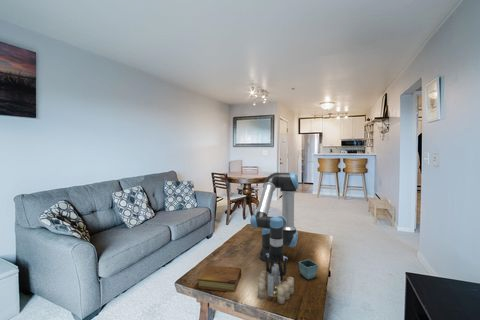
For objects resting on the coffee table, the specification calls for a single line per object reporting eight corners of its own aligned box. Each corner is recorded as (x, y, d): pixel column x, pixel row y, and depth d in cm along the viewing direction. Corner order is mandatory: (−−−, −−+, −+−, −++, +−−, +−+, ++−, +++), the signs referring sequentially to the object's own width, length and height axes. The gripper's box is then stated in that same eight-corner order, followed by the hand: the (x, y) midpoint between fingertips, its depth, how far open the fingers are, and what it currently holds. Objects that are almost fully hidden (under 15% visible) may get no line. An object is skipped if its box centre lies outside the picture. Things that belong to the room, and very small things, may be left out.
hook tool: (273, 283, 138) (273, 263, 138) (280, 285, 136) (280, 264, 136) (266, 295, 126) (266, 273, 126) (273, 297, 124) (274, 274, 124)
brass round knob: (270, 291, 134) (270, 286, 134) (279, 293, 132) (279, 289, 132) (267, 295, 130) (267, 291, 130) (276, 298, 127) (276, 293, 127)
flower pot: (307, 282, 144) (307, 267, 144) (298, 275, 152) (298, 261, 152) (318, 279, 148) (318, 264, 148) (308, 272, 156) (309, 259, 156)
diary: (241, 276, 152) (241, 267, 152) (235, 292, 133) (235, 282, 133) (207, 272, 156) (207, 264, 156) (197, 288, 138) (197, 278, 138)
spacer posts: (261, 283, 142) (261, 270, 142) (294, 291, 134) (294, 277, 134) (252, 296, 129) (252, 281, 129) (288, 306, 121) (288, 290, 121)
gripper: (260, 244, 135) (259, 284, 135) (289, 249, 128) (289, 292, 128) (264, 240, 142) (264, 278, 142) (292, 245, 135) (292, 285, 135)
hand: (276, 285), depth 135 cm, fingers closed on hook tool, 4 cm apart
